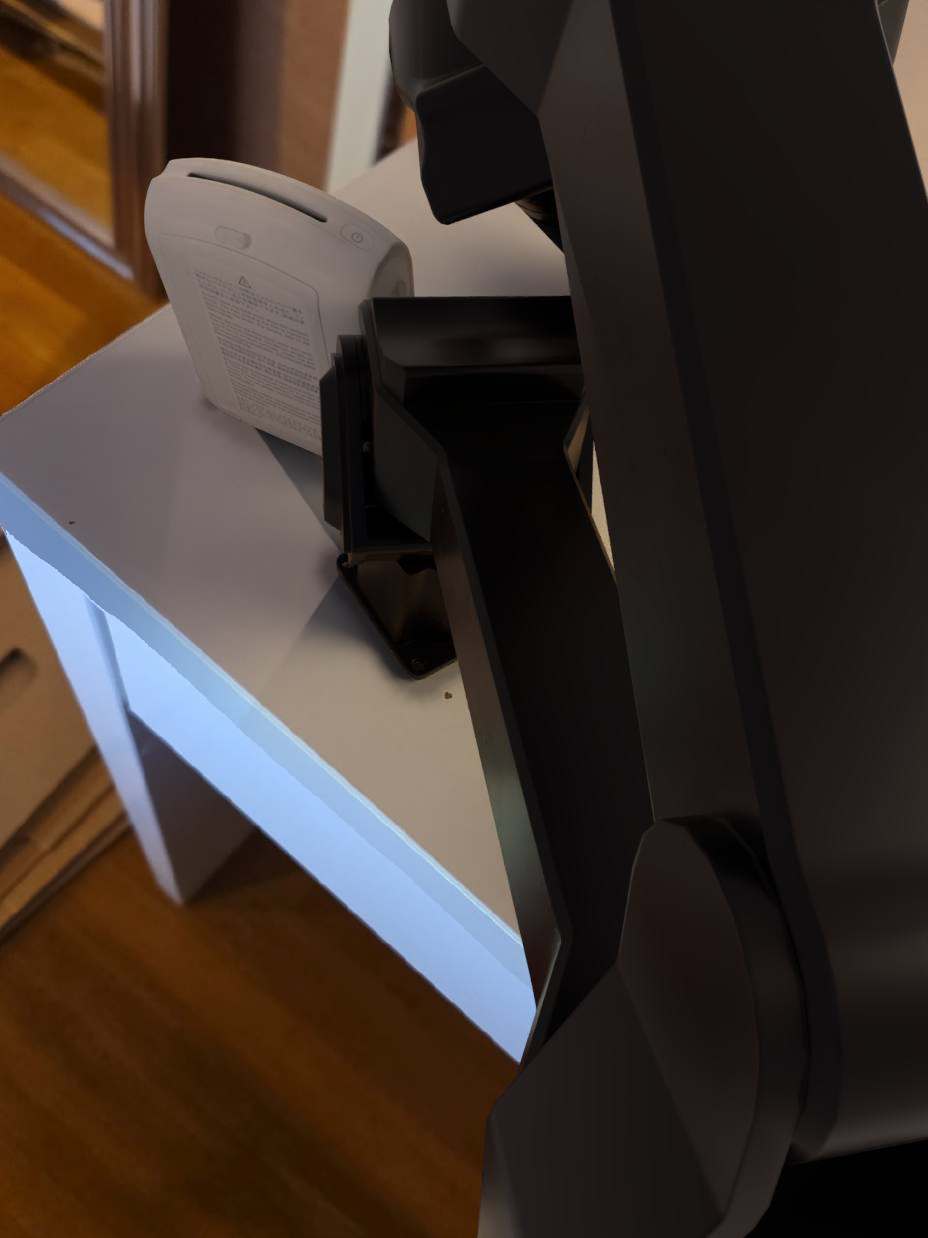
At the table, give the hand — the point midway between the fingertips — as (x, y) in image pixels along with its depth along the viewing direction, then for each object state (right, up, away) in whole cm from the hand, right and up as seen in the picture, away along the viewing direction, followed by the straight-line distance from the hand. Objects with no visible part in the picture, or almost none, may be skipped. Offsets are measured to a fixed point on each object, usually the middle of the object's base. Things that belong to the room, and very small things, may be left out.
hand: (729, 293), depth 39 cm
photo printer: (-17, -4, +6) cm, 19 cm away
